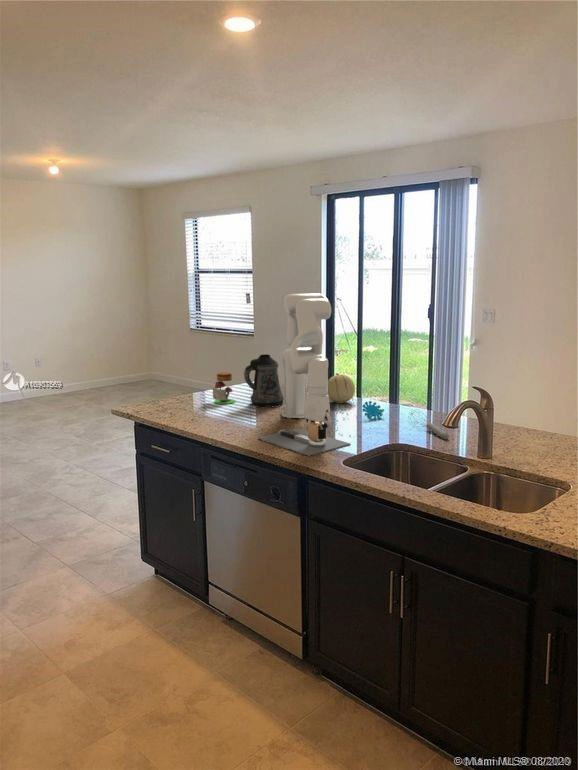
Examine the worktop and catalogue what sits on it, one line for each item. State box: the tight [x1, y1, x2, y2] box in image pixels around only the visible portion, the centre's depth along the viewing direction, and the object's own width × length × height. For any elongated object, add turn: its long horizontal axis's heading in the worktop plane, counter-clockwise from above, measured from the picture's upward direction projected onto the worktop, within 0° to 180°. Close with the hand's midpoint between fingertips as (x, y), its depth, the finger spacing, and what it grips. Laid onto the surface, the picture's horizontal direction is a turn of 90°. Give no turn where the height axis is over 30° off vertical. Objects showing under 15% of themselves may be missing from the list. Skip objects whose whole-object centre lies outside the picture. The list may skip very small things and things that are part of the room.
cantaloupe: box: [328, 373, 356, 404], centre depth 302 cm, size 15×15×15 cm
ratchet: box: [278, 429, 326, 447], centre depth 235 cm, size 24×6×6 cm, turn 41°
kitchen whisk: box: [407, 409, 450, 440], centre depth 251 cm, size 6×34×6 cm, turn 14°
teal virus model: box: [362, 400, 385, 421], centre depth 273 cm, size 11×6×10 cm
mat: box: [257, 428, 351, 457], centre depth 235 cm, size 30×22×1 cm
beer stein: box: [243, 354, 285, 408], centre depth 297 cm, size 16×19×25 cm
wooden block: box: [307, 421, 328, 441], centre depth 228 cm, size 5×5×6 cm
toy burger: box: [211, 371, 236, 405], centre depth 305 cm, size 12×13×15 cm
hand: (317, 436), depth 228 cm, fingers closed on wooden block, 4 cm apart
